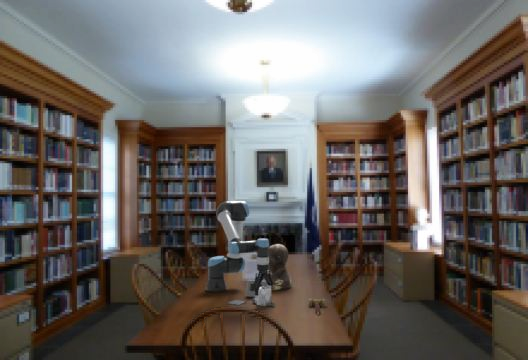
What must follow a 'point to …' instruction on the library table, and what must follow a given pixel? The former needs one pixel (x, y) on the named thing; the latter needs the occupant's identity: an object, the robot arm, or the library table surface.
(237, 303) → the pad
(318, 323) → the library table surface
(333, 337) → the library table surface
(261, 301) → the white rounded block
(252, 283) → the digital clock
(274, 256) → the portrait bust
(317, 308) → the gavel
